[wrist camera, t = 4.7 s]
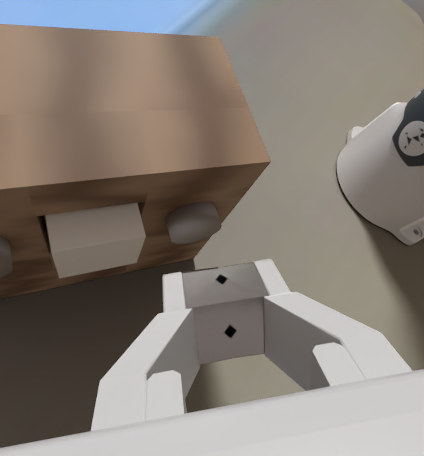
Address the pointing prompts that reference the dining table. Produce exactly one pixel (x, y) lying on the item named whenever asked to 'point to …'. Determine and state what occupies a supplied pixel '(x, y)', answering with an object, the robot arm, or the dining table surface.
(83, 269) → the cream button
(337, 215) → the dining table surface
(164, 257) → the wooden block with knobs
